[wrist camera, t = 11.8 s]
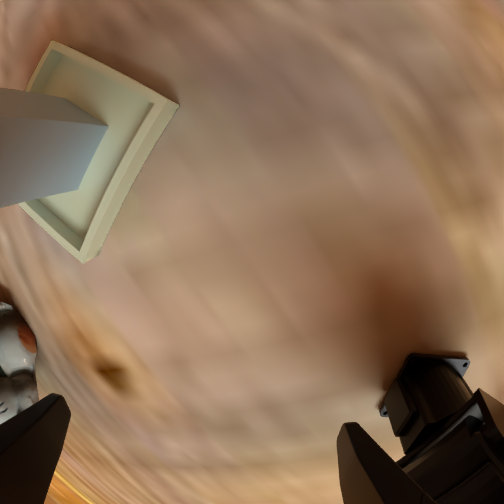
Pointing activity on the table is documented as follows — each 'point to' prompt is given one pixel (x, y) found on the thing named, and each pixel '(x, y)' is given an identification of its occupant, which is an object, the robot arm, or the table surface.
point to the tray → (108, 152)
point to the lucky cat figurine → (16, 364)
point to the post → (43, 145)
